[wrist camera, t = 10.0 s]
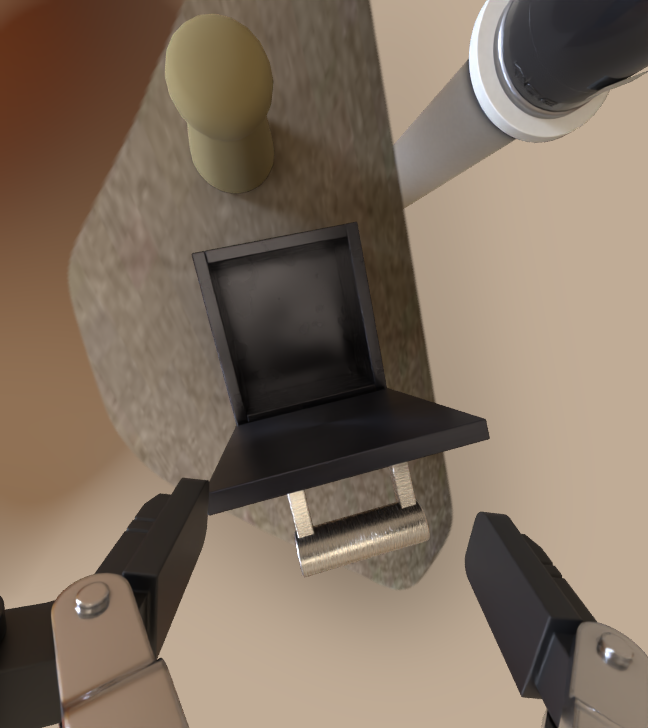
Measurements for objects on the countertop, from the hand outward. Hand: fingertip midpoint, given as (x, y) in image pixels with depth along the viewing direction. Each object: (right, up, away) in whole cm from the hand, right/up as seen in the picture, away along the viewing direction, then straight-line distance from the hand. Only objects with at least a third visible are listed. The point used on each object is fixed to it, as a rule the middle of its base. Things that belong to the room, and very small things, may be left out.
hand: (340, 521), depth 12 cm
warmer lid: (0, +2, +9) cm, 9 cm away
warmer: (-3, +8, +20) cm, 21 cm away
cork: (-7, +20, +17) cm, 28 cm away
